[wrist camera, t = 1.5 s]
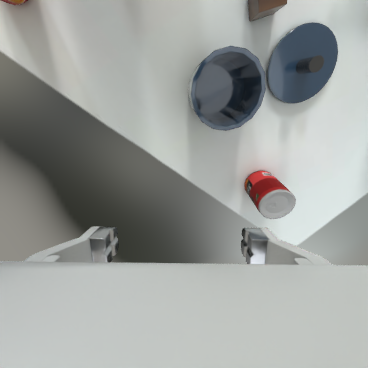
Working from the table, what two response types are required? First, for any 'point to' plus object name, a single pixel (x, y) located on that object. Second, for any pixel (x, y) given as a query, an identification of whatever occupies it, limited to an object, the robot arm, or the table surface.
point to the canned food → (269, 195)
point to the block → (264, 8)
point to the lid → (302, 62)
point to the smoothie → (15, 1)
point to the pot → (227, 88)
